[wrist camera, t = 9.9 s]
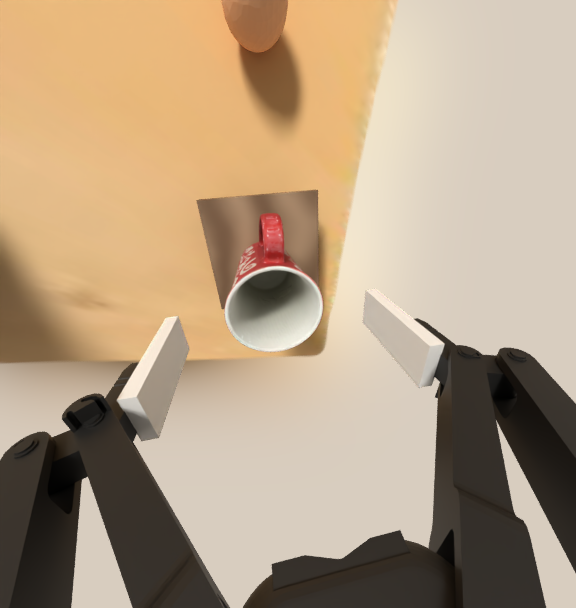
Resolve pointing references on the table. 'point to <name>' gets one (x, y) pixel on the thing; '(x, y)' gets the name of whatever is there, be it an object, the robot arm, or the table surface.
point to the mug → (272, 294)
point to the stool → (245, 231)
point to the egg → (255, 22)
